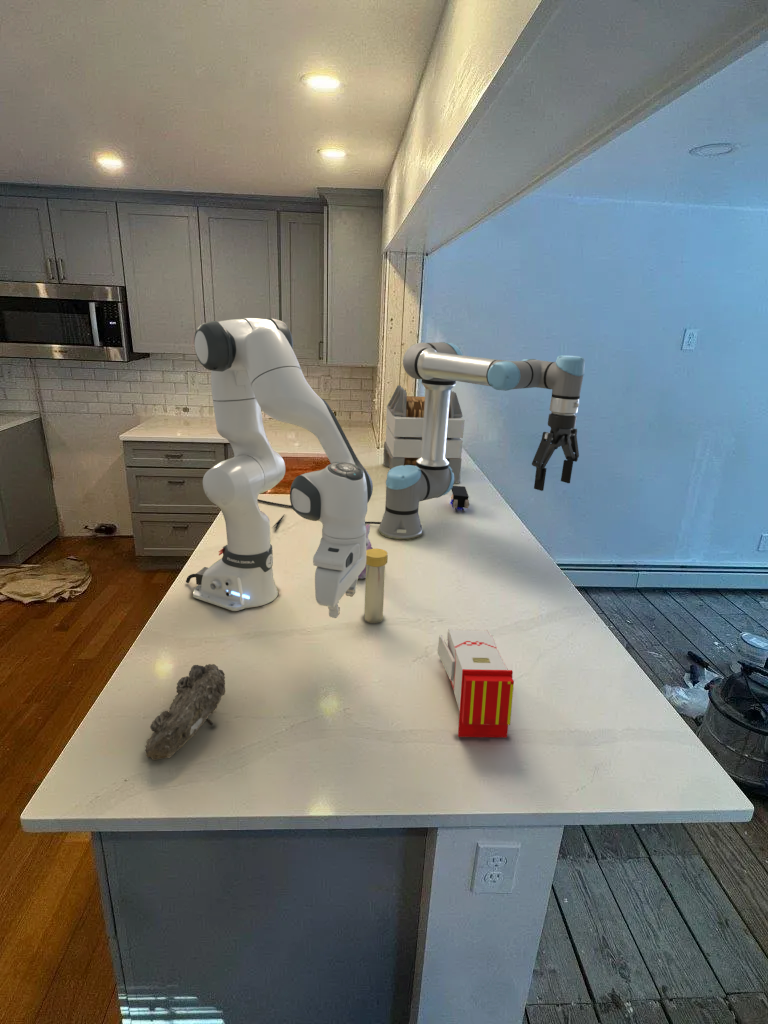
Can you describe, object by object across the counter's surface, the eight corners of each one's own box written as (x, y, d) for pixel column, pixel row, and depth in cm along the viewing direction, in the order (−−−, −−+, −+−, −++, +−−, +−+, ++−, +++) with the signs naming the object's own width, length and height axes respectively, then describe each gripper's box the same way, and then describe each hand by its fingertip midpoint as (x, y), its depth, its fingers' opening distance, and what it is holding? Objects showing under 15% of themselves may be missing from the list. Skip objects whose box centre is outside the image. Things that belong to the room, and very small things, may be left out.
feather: (291, 508, 223) (294, 504, 222) (274, 533, 196) (277, 528, 195) (287, 506, 222) (290, 502, 222) (270, 530, 196) (272, 526, 195)
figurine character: (469, 517, 223) (463, 501, 236) (471, 500, 219) (465, 484, 233) (452, 516, 222) (447, 500, 236) (454, 499, 219) (449, 483, 232)
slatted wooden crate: (382, 463, 289) (386, 382, 275) (445, 464, 293) (451, 384, 279) (390, 482, 257) (394, 392, 243) (460, 483, 261) (468, 394, 247)
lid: (389, 558, 142) (389, 549, 141) (384, 568, 136) (385, 559, 136) (367, 555, 143) (367, 547, 142) (361, 565, 137) (362, 556, 137)
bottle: (384, 615, 147) (387, 552, 141) (380, 624, 142) (383, 559, 136) (366, 612, 148) (369, 549, 141) (362, 621, 143) (364, 557, 137)
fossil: (174, 665, 116) (226, 633, 111) (207, 696, 118) (259, 665, 113) (119, 753, 96) (179, 718, 91) (161, 787, 99) (221, 755, 94)
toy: (488, 613, 130) (523, 677, 101) (484, 667, 133) (517, 744, 104) (435, 612, 130) (455, 676, 101) (432, 666, 133) (451, 743, 103)
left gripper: (347, 524, 124) (345, 581, 128) (309, 561, 105) (309, 626, 110) (374, 528, 122) (372, 586, 127) (340, 566, 104) (339, 632, 108)
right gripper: (548, 419, 148) (537, 496, 155) (598, 411, 163) (586, 482, 171) (525, 414, 153) (515, 489, 160) (575, 407, 169) (564, 476, 176)
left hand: (342, 605), depth 118 cm, fingers open, 8 cm apart
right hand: (552, 485), depth 166 cm, fingers open, 13 cm apart
